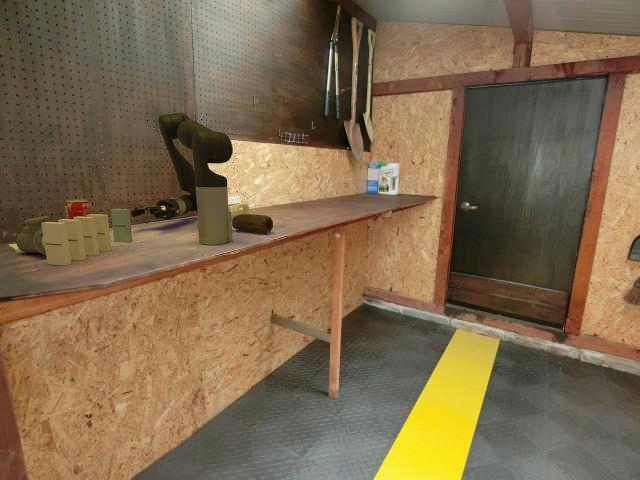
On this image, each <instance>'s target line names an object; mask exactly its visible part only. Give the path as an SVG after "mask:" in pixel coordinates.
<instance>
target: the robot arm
mask: <svg viewBox="0 0 640 480" xmlns="http://www.w3.org/2000/svg"><path fill="white" fill-rule="evenodd" d="M158 128H159V131H160V134H161V137H162V139H163V142H164V144H165V147H166V150H167V152H168V155H169V157H170V160H171V161H172V165H173V168H174V172H175V174H176V177H177V181H178V182H177V183H178V186H179V189H180V190H181V191H183V192H187V193H188V194H182V195H180V196H178V197H169V198H163V199H159V200H158V201H157V202H156V203H155V204H152V205H143V206H137V207H134V208H133V209H132V210H131V211H130V212H131V214H130V215H131V217H132V218H133V217H134V218H136V217H139V216H146V217H154V218H155V219H162V220H170V219H175V218H177V217H180V216H183V215H185V214H188V213H190V212H197V229H198V231H197V232H198V233H197V235H198V243H199V244H202V245H209V246H210V245H211V246H212V245H223V244H227V243H230V242H233V226H232V219H231V211H228V206H229V191H228V190H229V189H228V186H229V185H228V178H227V177H226V176H225V175H221V174H219V173H217V172H215V171H213V170H211V168H210V167H209V164H225V163H228V162H229V161H230V159H232V156H233V152H234V147H233V143H232V140H231V138H230V136H228V134H227V133H224V132H223V131H221V132H220V131H215V130H212V128H209V127H207V126H205V125H203V124H202V123H200V122H198V121H195V120H193V119H192V118H190V116H188V115H187V114H185V113H184V112H174V113H168V114H160V115H159V117H158ZM177 139H178V141H179V142H180V143H181V145H183V146H184V147H186V148H187V149H189V150H191V151H192V158H193V165H192V164H191V163H190V161H188V159H186V158H185V157H184V155H183V154H182V153H181V152H180V151H179V150H178V149H177V147H176V145H175V143H174V140H177ZM189 193H190V194H189Z"/></svg>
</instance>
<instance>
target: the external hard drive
mask: <svg viewBox="0 0 640 480" xmlns="http://www.w3.org/2000/svg"><path fill="white" fill-rule="evenodd" d="M7 248H8V249H9V250H11V251H13V252H14V253H24V252H23V251H21V250H20V249H19V248H18V247H17V244H16V243H12V244H7Z"/></svg>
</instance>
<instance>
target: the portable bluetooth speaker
mask: <svg viewBox="0 0 640 480" xmlns="http://www.w3.org/2000/svg"><path fill="white" fill-rule="evenodd" d="M231 221H232V229H235V230H237V231H241V232H245V233H254V234H262V233H265V234H269V233H271V231H273V229H274V228H273V227H274V221H273V219H272V217H270V216H268V215H265V214H256V213H255V214H251V213H249V214H241V215H237V216H235V217H234V218H232V219H231Z"/></svg>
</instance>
